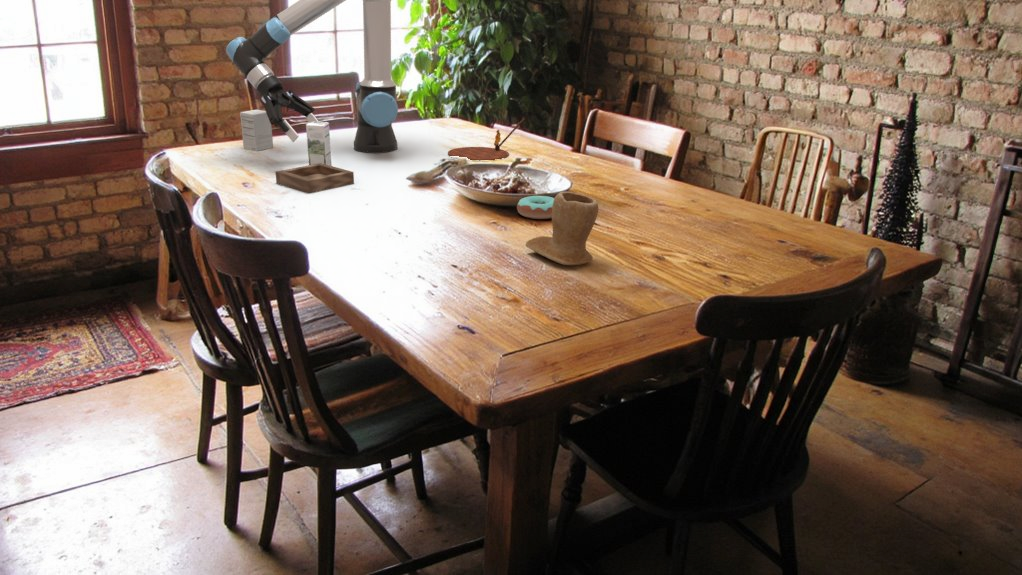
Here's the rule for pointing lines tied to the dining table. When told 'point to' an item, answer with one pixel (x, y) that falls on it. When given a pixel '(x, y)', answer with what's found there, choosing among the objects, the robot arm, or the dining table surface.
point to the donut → (536, 207)
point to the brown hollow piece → (568, 230)
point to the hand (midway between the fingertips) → (309, 135)
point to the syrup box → (318, 143)
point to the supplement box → (256, 130)
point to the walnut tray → (314, 177)
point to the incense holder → (483, 150)
